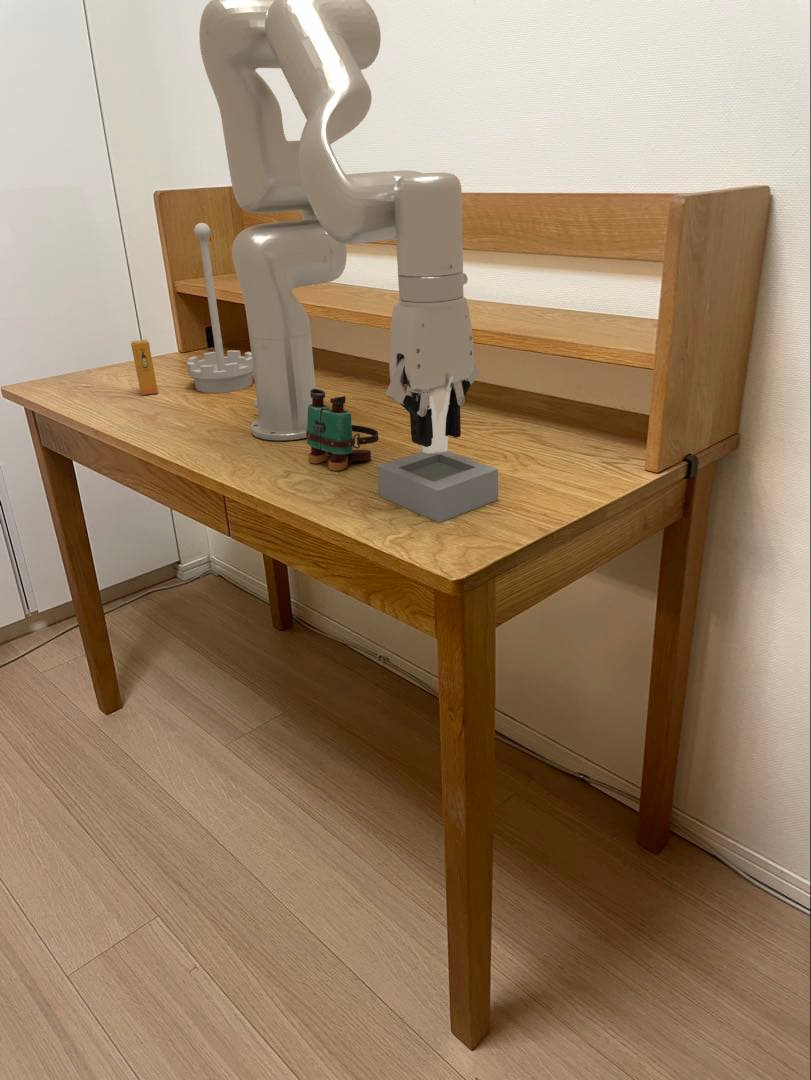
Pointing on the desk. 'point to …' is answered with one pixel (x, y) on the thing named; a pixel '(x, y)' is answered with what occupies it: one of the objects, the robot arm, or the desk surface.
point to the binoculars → (334, 433)
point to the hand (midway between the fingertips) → (436, 438)
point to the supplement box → (144, 367)
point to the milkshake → (438, 419)
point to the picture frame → (438, 484)
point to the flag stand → (217, 342)
